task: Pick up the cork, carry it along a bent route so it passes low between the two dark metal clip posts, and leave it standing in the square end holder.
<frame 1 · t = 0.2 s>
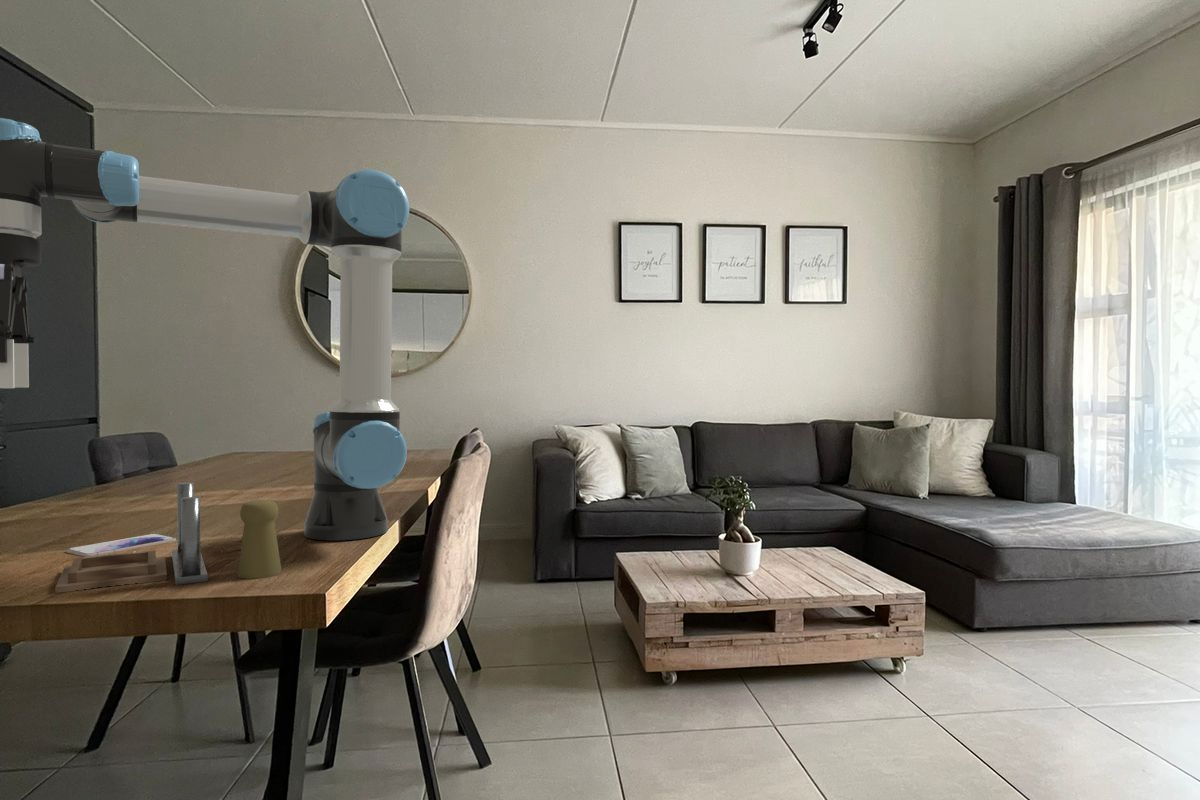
hand: (9, 388, 103), 28 cm above the table, fingers open, 13 cm apart
end holder: (114, 575, 109), on the table
smartphone: (123, 549, 129), on the table
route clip: (188, 567, 114), on the table
cork: (259, 574, 111), on the table
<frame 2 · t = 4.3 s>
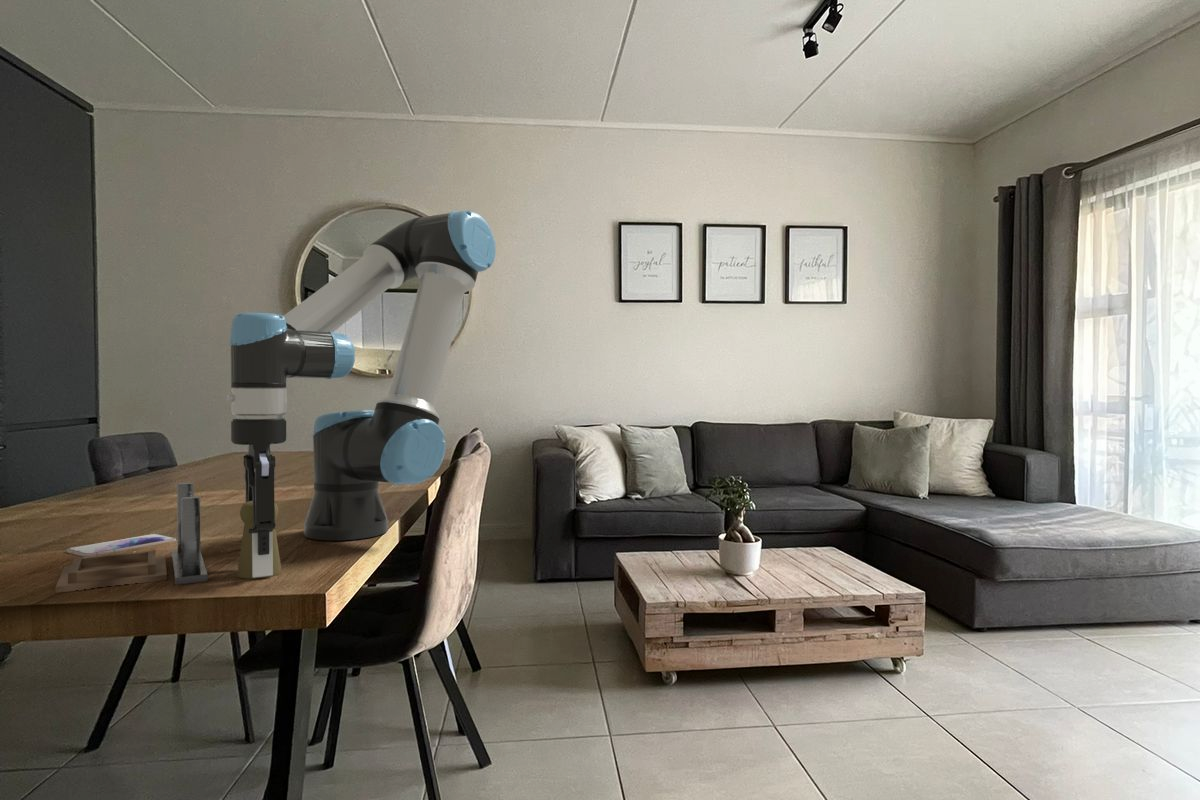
hand: (259, 570, 111), 0 cm above the table, fingers closed on cork, 6 cm apart
cork: (259, 574, 111), on the table, touching gripper
everything else where it was.
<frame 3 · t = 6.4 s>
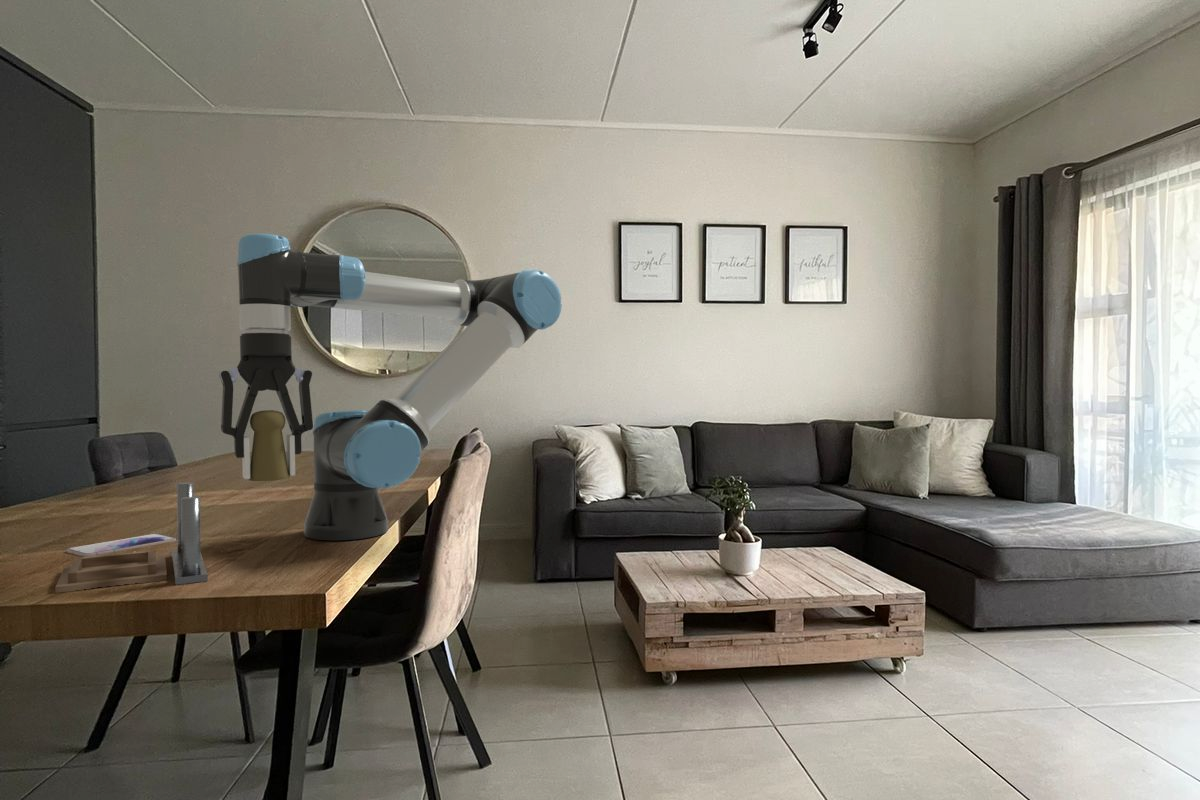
hand: (269, 476, 119), 14 cm above the table, fingers closed on cork, 6 cm apart
cork: (269, 479, 119), point 13 cm above the table, touching gripper
everything else where it was.
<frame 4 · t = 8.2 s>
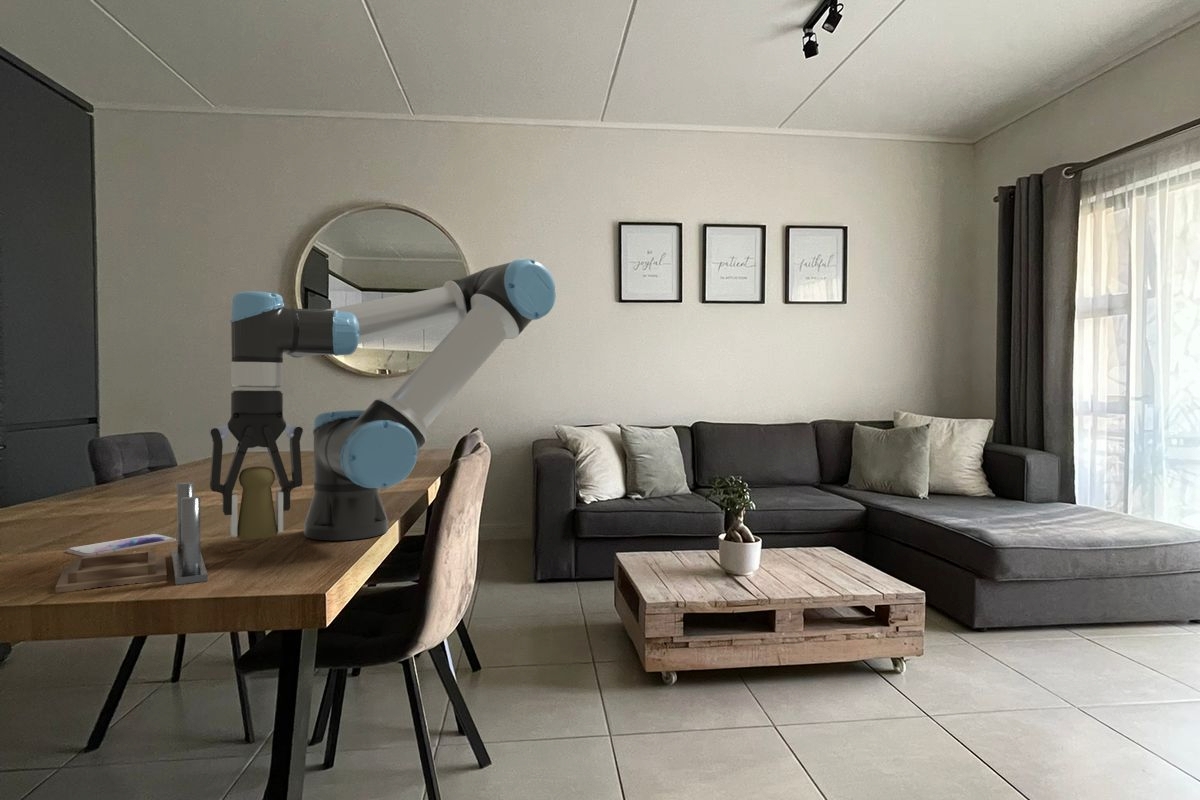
hand: (257, 532, 119), 4 cm above the table, fingers closed on cork, 6 cm apart
cork: (257, 536, 119), point 4 cm above the table, touching gripper
everything else where it was.
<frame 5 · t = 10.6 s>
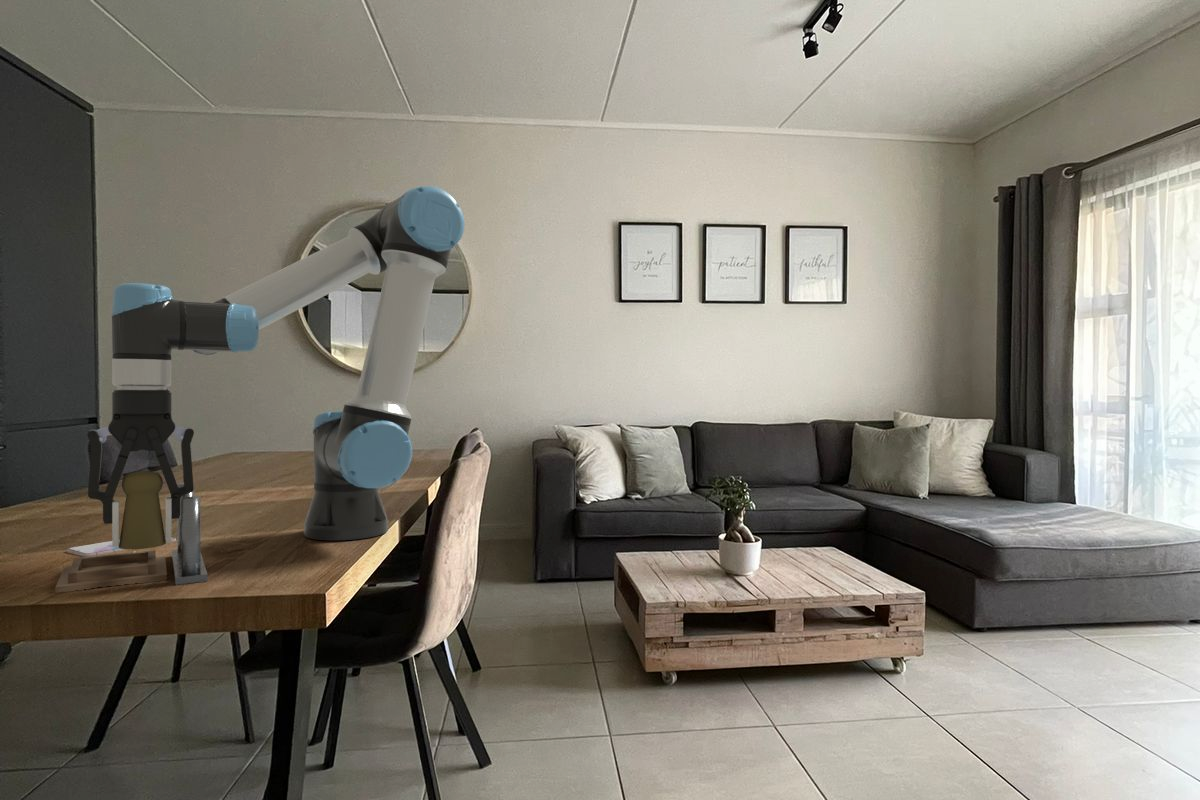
hand: (142, 542, 110), 5 cm above the table, fingers closed on cork, 6 cm apart
cork: (142, 546, 110), point 4 cm above the table, touching gripper
everything else where it was.
when the fingers open (4 cm above the table, at t = 12.6 s): cork drops 2 cm, resting on end holder.
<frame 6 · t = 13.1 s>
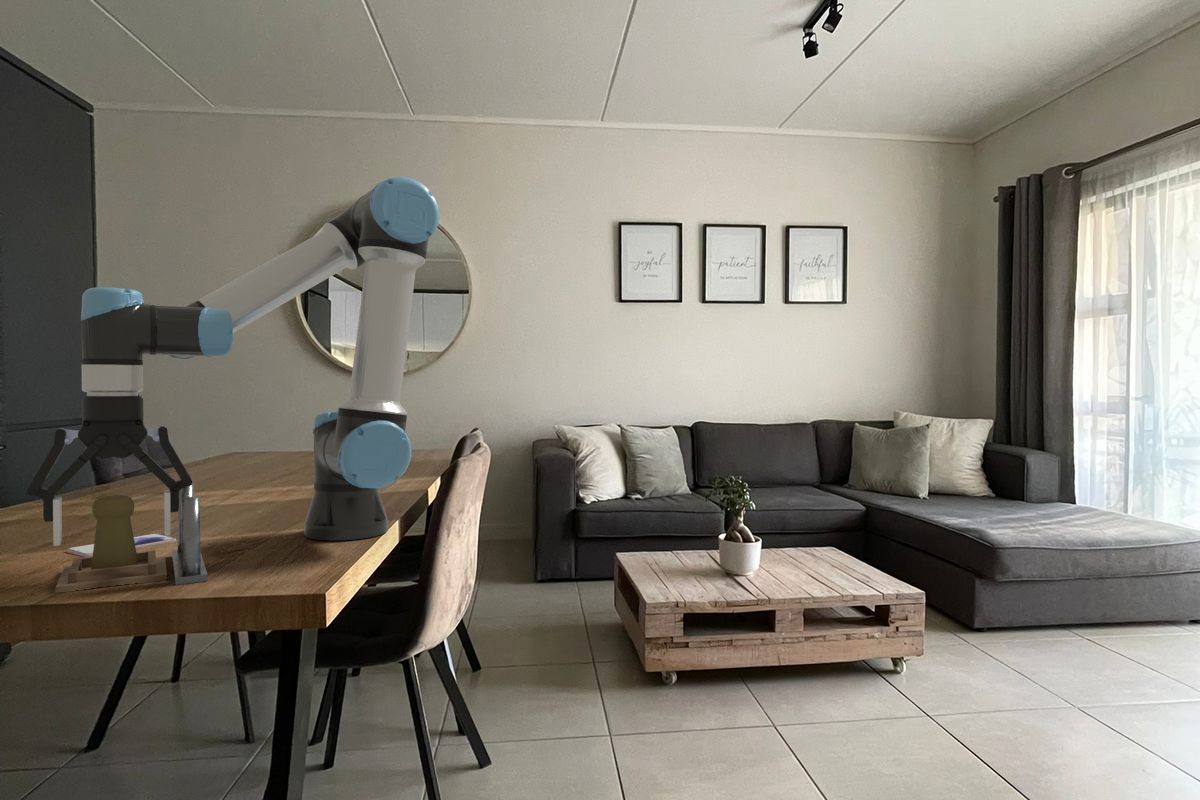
hand: (114, 539, 109), 5 cm above the table, fingers open, 13 cm apart
cork: (115, 571, 109), point 1 cm above the table, touching end holder
everything else where it was.
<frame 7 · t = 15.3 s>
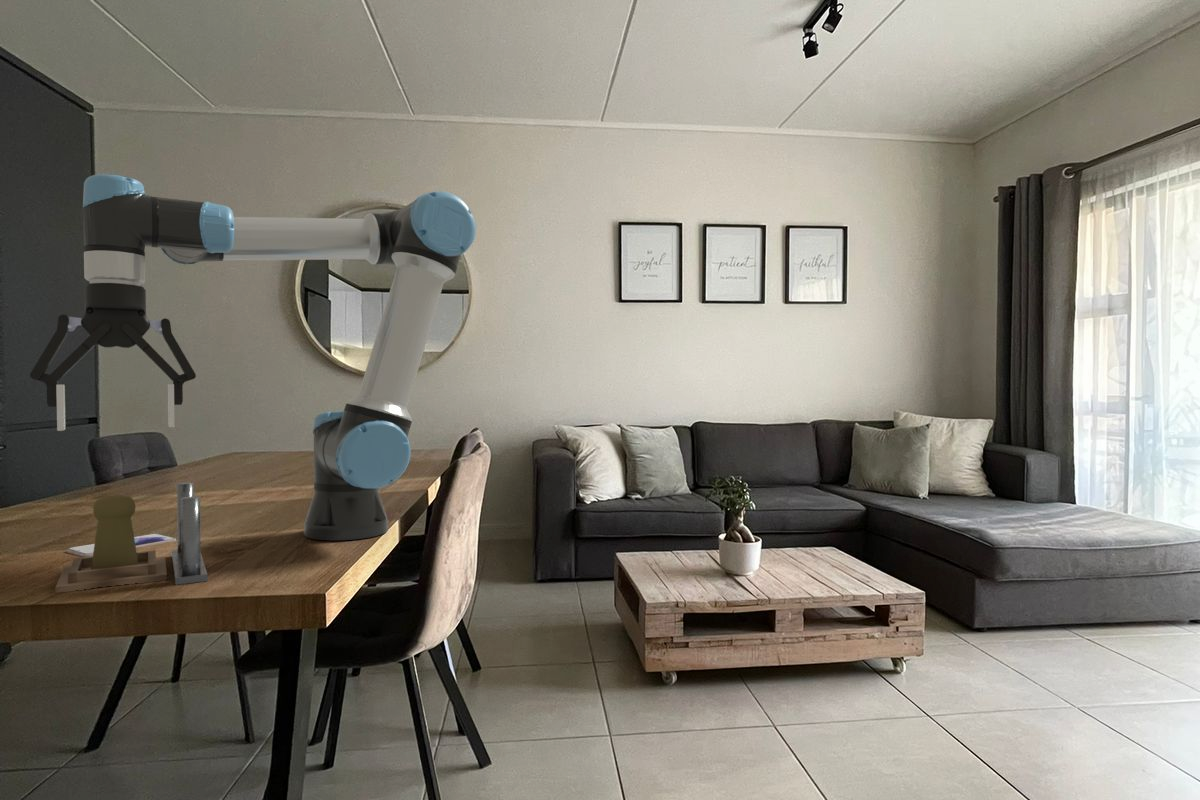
hand: (118, 428, 109), 22 cm above the table, fingers open, 13 cm apart
nothing on the table moved.
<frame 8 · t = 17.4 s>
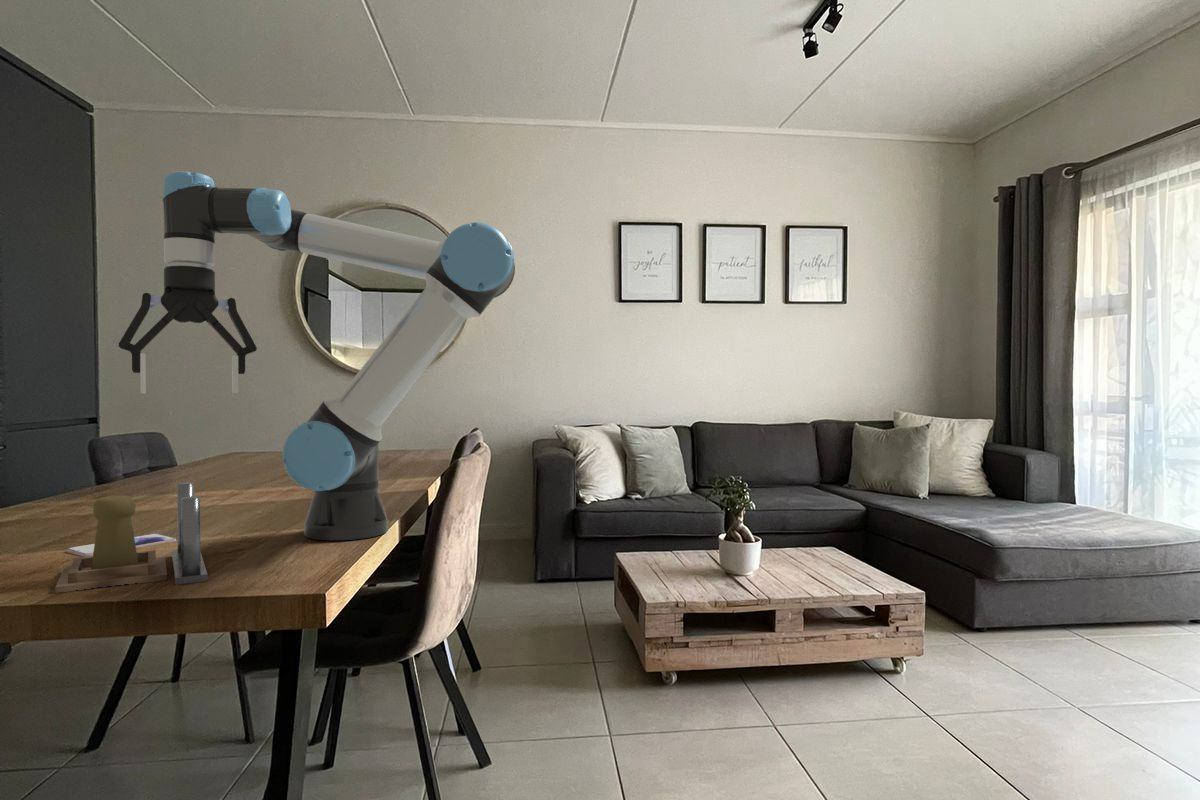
hand: (190, 393, 125), 27 cm above the table, fingers open, 13 cm apart
nothing on the table moved.
at the end: cork 0.1 cm off-centre on the end holder, point 0.6 cm above the end holder's base; cork tilted 0°; the gripper is holding nothing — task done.
